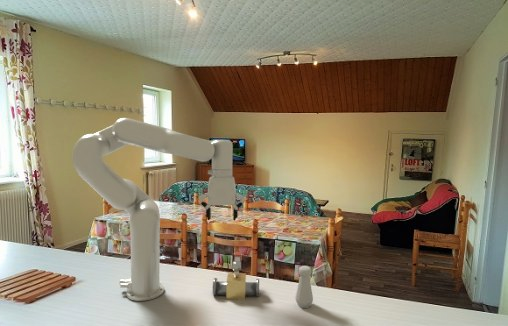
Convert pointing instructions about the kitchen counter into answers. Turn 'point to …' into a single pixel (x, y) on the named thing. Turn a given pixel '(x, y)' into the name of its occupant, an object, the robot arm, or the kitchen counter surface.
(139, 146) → the robot arm
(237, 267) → the valve lever
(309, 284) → the salt shaker
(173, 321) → the kitchen counter surface
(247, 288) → the valve pipe
